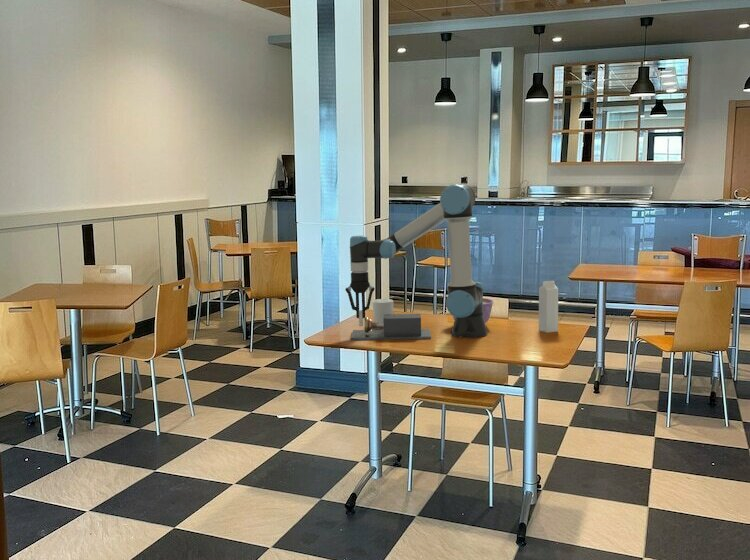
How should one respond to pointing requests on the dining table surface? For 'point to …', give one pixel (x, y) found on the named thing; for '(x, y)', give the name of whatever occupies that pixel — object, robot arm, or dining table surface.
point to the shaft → (372, 325)
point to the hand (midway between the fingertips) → (361, 325)
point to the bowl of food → (485, 309)
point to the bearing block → (396, 329)
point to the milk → (548, 307)
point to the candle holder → (382, 308)
